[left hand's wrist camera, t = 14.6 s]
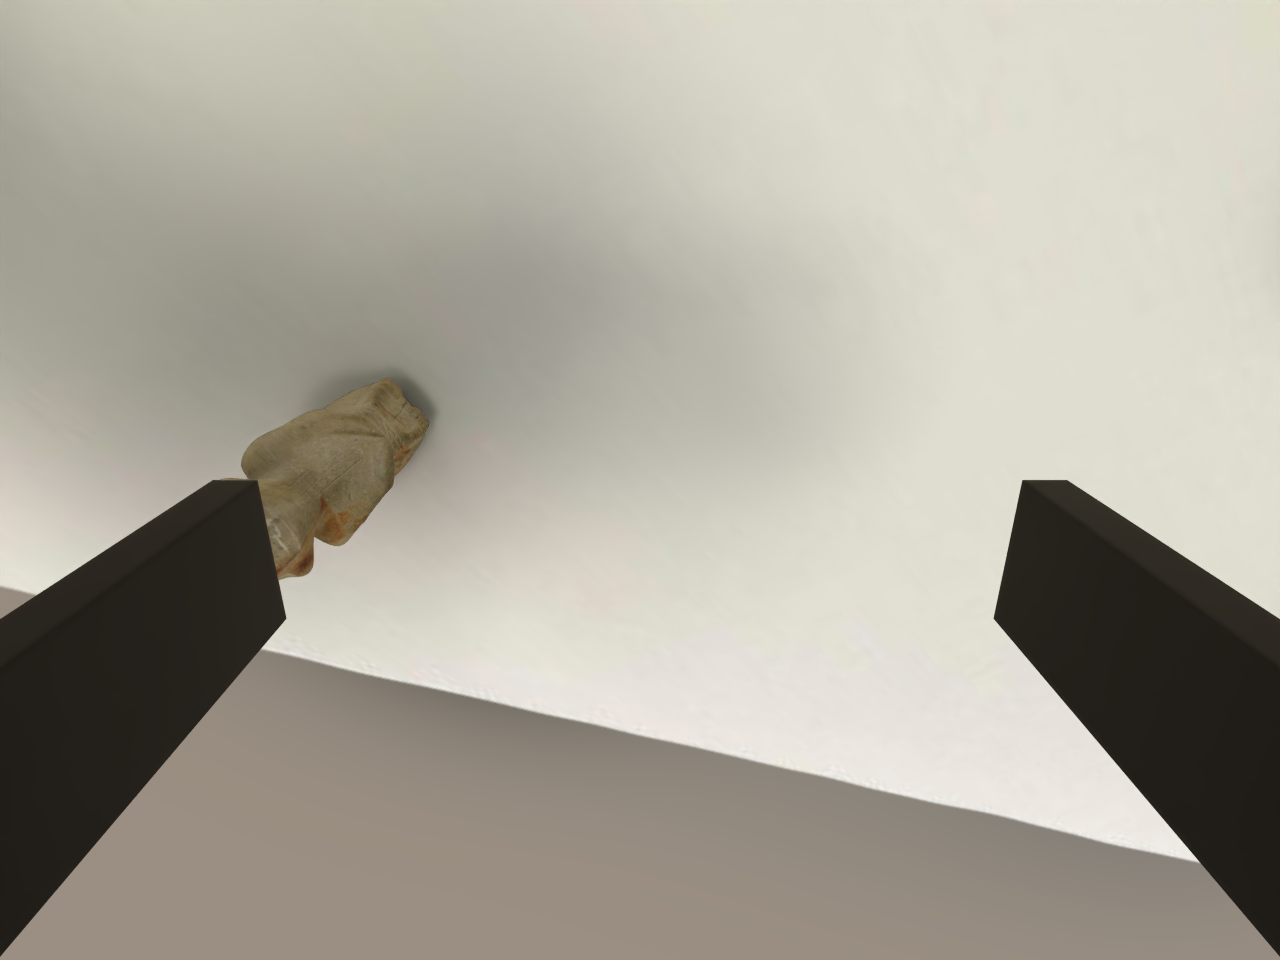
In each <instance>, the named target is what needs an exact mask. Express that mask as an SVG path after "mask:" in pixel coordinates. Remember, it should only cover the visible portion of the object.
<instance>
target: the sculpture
mask: <svg viewBox="0 0 1280 960" xmlns="http://www.w3.org/2000/svg"><path fill="white" fill-rule="evenodd" d="M428 426H429V422H428V420H427V419H426V417H425V416H424V414H423V413H422V412H421V411H420V410H419V409H418V408H417V407H412V406H411V405H410V404H409V403H408V402H407V400H406V399H405V398H404V397H403V391H402V390H401V389H400V388H399V387H398V386H397V385H396V384H395V383H394V382H393V381H392V380H391V379H389V378H384V379H382V380H380V381H379V382H377V383H374V384H371V385H367V386H364V387H361V388H359V389H356V390H354V391H352V392H350V393H348V394H346V395H344V396H343V397H341V398H339V399H337V400H336V401H334V402H333V403H331V404H330V405H328V406H327V407H326V408H325V409H324V410H313V411H310V412H307V413H305V414H303V415H301V416H299V417H297V418H295V419H294V420H292V421H290V422H288V423H287V424H285V425H283V426H281V427H279V428H277V429H275V430H273V431H271V432H268V433H266V434H264V435H262V436H261V437H259V438H257V439H256V440H255V441H254V442H252V443H251V445H250V446H249V447H248V448H247V450H246V451H245V453H244V454H243V457H242V462H241V467H242V469H243V471H244V473H245V475H246V476H247V478H248V479H249V480H258V485H259V490H260V494H261V499H262V504H263V509H264V514H265V518H266V523H267V528H268V533H269V538H270V542H271V547H272V552H273V557H274V562H275V566H276V571H277V576H278V580H281V579H284V578H288V577H301V576H304V575H307V574H308V573H309V572H310V571H311V570H312V567H313V562H314V549H313V541H314V537H316V538H318V539H319V540H321V541H323V542H325V543H327V544H330V545H334V546H341V545H343V544H345V543H346V542H347V541H348V540H349V539H350V538H351V536H352V535H353V534H354V532H355V531H356V530H357V529H358V528H359V527H360V525H361V524H363V523H364V522H365V520H366V519H367V517H368V516H369V514H370V513H371V512H372V510H373V509H374V508H375V506H376V505H377V504H378V503H379V502H380V500H381V499H382V498H383V496H384V495H385V494H386V493H387V492H388V491H389V490H390V489H391V488H392V486H393V483H394V476H395V475H396V474H398V473H399V472H400V471H401V470H402V469H403V468H404V466H405V465H406V464H407V462H408V461H409V460H410V459H411V457H412V456H413V454H414V452H415V451H416V449H417V448H418V446H419V445H420V443H421V441H422V439H423V437H424V434H425V431H426V430H427V428H428ZM248 479H236V478H225V479H221V480H248Z"/></svg>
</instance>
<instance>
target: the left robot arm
mask: <svg viewBox="0 0 1280 960" xmlns="http://www.w3.org/2000/svg"><path fill="white" fill-rule="evenodd" d="M285 620H286V614H285V610H284V605H283V600H282V595H281V590H280V586H279V581H278V576H277V571H276V566H275V562H274V557H273V552H272V547H271V542H270V538H269V533H268V528H267V523H266V518H265V514H264V509H263V504H262V499H261V494H260V490H259V485H258V480H212V481H211V482H209V483H208V484H206V485H205V486H203V487H202V488H200V489H199V490H197V491H196V492H194V493H193V494H191V495H189V496H188V497H186V498H185V499H183V500H182V501H180V502H179V503H177V504H176V505H174V506H173V507H171V508H170V509H168V510H167V511H165V512H163V513H162V514H160V515H159V516H157V517H156V518H154V519H153V520H151V521H150V522H148V523H147V524H145V525H144V526H142V527H141V528H139V529H137V530H136V531H134V532H133V533H131V534H130V535H128V536H127V537H125V538H124V539H122V540H121V541H119V542H118V543H116V544H115V545H113V546H111V547H110V548H108V549H107V550H105V551H104V552H102V553H101V554H99V555H98V556H96V557H95V558H93V559H92V560H90V561H88V562H87V563H85V564H84V565H82V566H81V567H79V568H78V569H76V570H75V571H73V572H72V573H70V574H69V575H67V576H66V577H64V578H62V579H61V580H59V581H58V582H56V583H55V584H53V585H52V586H50V587H49V588H47V589H46V590H44V591H43V592H41V593H40V594H38V595H36V596H35V597H34V598H32V599H30V600H29V601H27V602H26V603H24V604H23V605H21V606H20V607H18V608H17V609H15V610H14V611H12V612H11V613H9V614H7V615H6V616H4V617H3V618H1V619H0V956H1V955H2V954H3V953H4V951H5V950H6V949H7V948H8V947H9V945H10V944H11V943H12V942H13V941H14V940H15V938H16V937H17V936H18V935H19V934H20V933H21V931H22V930H23V929H24V928H25V927H26V925H27V924H28V923H29V922H30V921H31V920H32V918H33V917H34V916H35V915H36V914H37V912H38V911H39V910H40V909H41V908H42V907H43V905H44V904H45V903H46V902H47V901H48V899H49V898H50V897H51V896H52V895H53V893H54V892H55V891H56V890H57V889H58V888H59V886H60V885H61V884H62V883H63V882H64V881H65V879H66V878H67V877H68V876H69V875H70V873H71V872H72V871H73V870H74V869H75V868H76V866H77V865H78V864H79V863H80V862H81V860H82V859H83V858H84V857H85V856H86V855H87V853H88V852H89V851H90V850H91V849H92V847H93V846H94V845H95V844H96V843H97V842H98V840H99V839H100V838H101V837H102V836H103V834H104V833H105V832H106V831H107V830H108V829H109V827H110V826H111V825H112V824H113V823H114V821H115V820H116V819H117V818H118V817H119V816H120V814H121V813H122V812H123V811H124V810H125V809H126V807H127V806H128V805H129V804H130V803H131V801H132V800H133V799H134V798H135V797H136V796H137V794H138V793H139V792H140V791H141V790H142V788H143V787H144V786H145V785H146V784H147V782H148V781H149V780H150V779H151V778H152V777H153V775H154V774H155V773H156V772H157V771H158V770H159V768H160V767H161V766H162V765H163V764H164V762H165V761H166V760H167V759H168V758H169V757H170V755H171V754H172V753H173V752H174V751H175V750H176V748H177V747H178V746H179V745H180V744H181V742H182V741H183V740H184V739H185V738H186V737H187V735H188V734H189V733H190V732H191V731H192V729H193V728H194V727H195V726H196V725H197V724H198V722H199V721H200V720H201V719H202V718H203V716H204V715H205V714H206V713H207V712H208V711H209V709H210V708H211V707H212V706H213V705H214V703H215V702H216V701H217V700H218V699H219V698H220V696H221V695H222V694H223V693H224V692H225V690H226V689H227V688H228V687H229V686H230V685H231V683H232V682H233V681H234V680H235V679H236V677H237V676H238V675H239V674H240V673H241V672H242V670H243V669H244V668H245V667H246V666H247V664H248V663H249V662H250V661H251V660H252V659H253V657H254V656H255V655H256V654H257V653H258V652H259V650H260V649H261V648H262V647H263V646H264V644H265V643H266V642H267V641H268V640H269V639H270V637H271V636H272V635H273V634H274V633H275V631H276V630H277V629H278V628H279V627H280V626H281V624H282V623H283V622H284V621H285ZM994 620H995V621H996V622H997V623H998V624H999V626H1000V627H1001V628H1002V629H1003V630H1004V631H1005V633H1006V634H1007V635H1008V636H1009V637H1010V639H1011V640H1012V641H1013V642H1014V643H1015V644H1016V646H1017V647H1018V648H1019V649H1020V650H1021V652H1022V653H1023V654H1024V655H1025V656H1026V657H1027V659H1028V660H1029V661H1030V662H1031V663H1032V664H1033V666H1034V667H1035V668H1036V669H1037V670H1038V672H1039V673H1040V674H1041V675H1042V676H1043V677H1044V679H1045V680H1046V681H1047V682H1048V683H1049V685H1050V686H1051V687H1052V688H1053V689H1054V690H1055V692H1056V693H1057V694H1058V695H1059V696H1060V698H1061V699H1062V700H1063V701H1064V702H1065V703H1066V705H1067V706H1068V707H1069V708H1070V709H1071V711H1072V712H1073V713H1074V714H1075V715H1076V716H1077V718H1078V719H1079V720H1080V721H1081V722H1082V724H1083V725H1084V726H1085V727H1086V728H1087V729H1088V731H1089V732H1090V733H1091V734H1092V735H1093V737H1094V738H1095V739H1096V740H1097V741H1098V742H1099V744H1100V745H1101V746H1102V747H1103V748H1104V750H1105V751H1106V752H1107V753H1108V754H1109V755H1110V757H1111V758H1112V759H1113V760H1114V761H1115V762H1116V764H1117V765H1118V766H1119V767H1120V768H1121V770H1122V771H1123V772H1124V773H1125V774H1126V775H1127V777H1128V778H1129V779H1130V780H1131V781H1132V783H1133V784H1134V785H1135V786H1136V787H1137V788H1138V790H1139V791H1140V792H1141V793H1142V794H1143V796H1144V797H1145V798H1146V799H1147V800H1148V801H1149V803H1150V804H1151V805H1152V806H1153V807H1154V809H1155V810H1156V811H1157V812H1158V813H1159V814H1160V816H1161V817H1162V818H1163V819H1164V820H1165V822H1166V823H1167V824H1168V825H1169V826H1170V827H1171V829H1172V830H1173V831H1174V832H1175V833H1176V835H1177V836H1178V837H1179V838H1180V839H1181V840H1182V842H1183V843H1184V844H1185V845H1186V846H1187V847H1188V849H1189V850H1190V851H1191V852H1192V853H1193V855H1194V856H1195V857H1196V858H1197V859H1198V860H1199V862H1200V863H1201V864H1202V865H1203V866H1204V868H1205V869H1206V870H1207V871H1208V872H1209V873H1210V875H1211V876H1212V877H1213V878H1214V879H1215V881H1216V882H1217V883H1218V884H1219V885H1220V886H1221V888H1222V889H1223V890H1224V891H1225V892H1226V894H1227V895H1228V896H1229V897H1230V898H1231V899H1232V901H1233V902H1234V903H1235V904H1236V905H1237V907H1238V908H1239V909H1240V910H1241V911H1242V912H1243V914H1244V915H1245V916H1246V917H1247V918H1248V920H1249V921H1250V922H1251V923H1252V924H1253V925H1254V927H1255V928H1256V929H1257V930H1258V931H1259V933H1260V934H1261V935H1262V936H1263V937H1264V938H1265V940H1266V941H1267V942H1268V943H1269V944H1270V945H1271V947H1272V948H1273V949H1274V950H1275V951H1276V953H1277V954H1278V955H1279V956H1280V619H1279V618H1277V617H1276V616H1274V615H1273V614H1271V613H1270V612H1268V611H1266V610H1265V609H1263V608H1262V607H1260V606H1259V605H1257V604H1256V603H1254V602H1253V601H1251V600H1250V599H1248V598H1247V597H1245V596H1244V595H1242V594H1240V593H1239V592H1237V591H1236V590H1234V589H1233V588H1231V587H1230V586H1228V585H1227V584H1225V583H1224V582H1222V581H1221V580H1219V579H1218V578H1216V577H1214V576H1213V575H1211V574H1210V573H1208V572H1207V571H1205V570H1204V569H1202V568H1201V567H1199V566H1198V565H1196V564H1195V563H1193V562H1192V561H1190V560H1188V559H1187V558H1185V557H1184V556H1182V555H1181V554H1179V553H1178V552H1176V551H1175V550H1173V549H1172V548H1170V547H1169V546H1167V545H1165V544H1164V543H1162V542H1161V541H1159V540H1158V539H1156V538H1155V537H1153V536H1152V535H1150V534H1149V533H1147V532H1146V531H1144V530H1143V529H1141V528H1139V527H1138V526H1136V525H1135V524H1133V523H1132V522H1130V521H1129V520H1127V519H1126V518H1124V517H1123V516H1121V515H1120V514H1118V513H1117V512H1115V511H1113V510H1112V509H1110V508H1109V507H1107V506H1106V505H1104V504H1103V503H1101V502H1100V501H1098V500H1097V499H1095V498H1094V497H1092V496H1091V495H1089V494H1087V493H1086V492H1084V491H1083V490H1081V489H1080V488H1078V487H1077V486H1075V485H1074V484H1072V483H1071V482H1069V481H1068V480H1022V485H1021V490H1020V494H1019V499H1018V504H1017V509H1016V514H1015V518H1014V523H1013V528H1012V533H1011V538H1010V542H1009V547H1008V552H1007V557H1006V562H1005V566H1004V571H1003V576H1002V581H1001V586H1000V590H999V595H998V600H997V605H996V610H995V614H994Z"/></svg>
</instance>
